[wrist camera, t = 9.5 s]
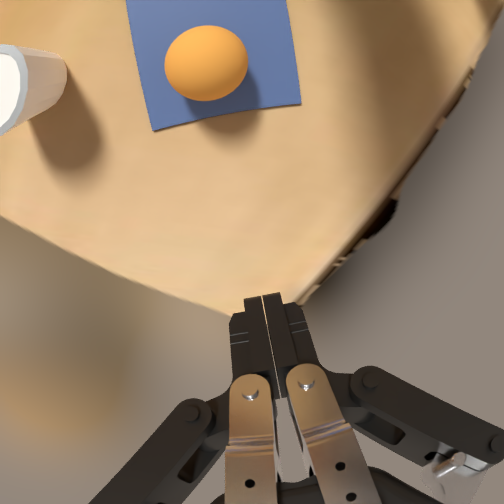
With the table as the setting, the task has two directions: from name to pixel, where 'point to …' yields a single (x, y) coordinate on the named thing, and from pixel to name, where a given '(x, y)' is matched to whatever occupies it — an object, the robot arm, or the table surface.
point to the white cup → (28, 83)
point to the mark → (233, 19)
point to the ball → (206, 63)
